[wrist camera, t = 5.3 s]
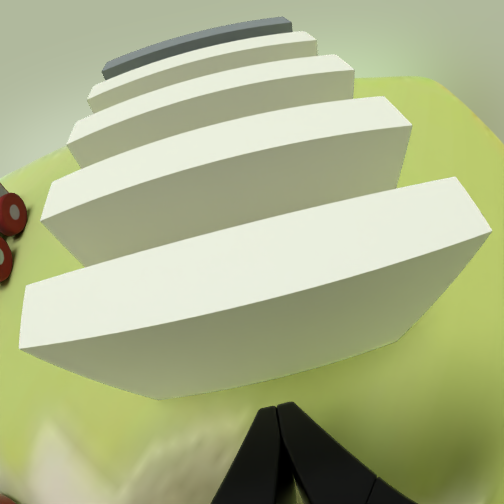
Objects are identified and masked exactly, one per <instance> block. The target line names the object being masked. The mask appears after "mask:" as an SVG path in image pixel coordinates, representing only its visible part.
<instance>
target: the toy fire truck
mask: <svg viewBox="0 0 504 504" xmlns="http://www.w3.org/2000/svg"><path fill="white" fill-rule="evenodd" d="M26 221H27V210H26V207H25V204H24V202H23V200H22V199H21V198H20V197H19V196H18V195H17V194H15V193H9V192H8V191H7V190H6V189H5V188H4V187H3V185H2V184H1V183H0V232H1V233H2V234H4V235H6V236H12V235H15V234H18V233H20V232H21V231H22V230H23V229H24V227H25V225H26ZM12 262H13V260H12V254H11V250H10V248H9V246H8V244H7V243H6V241H5V240H4V239H3V238H1V237H0V282H1V281H4V280H5V279H7V278H8V276H9V275H10V273H11V270H12Z"/></svg>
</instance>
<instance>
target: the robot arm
mask: <svg viewBox="0 0 504 504" xmlns="http://www.w3.org/2000/svg"><path fill="white" fill-rule="evenodd" d="M294 479H295V481H294ZM295 482H296V485H297V488H298V491H299V493H300V495H301V498H302V500H303V503H304V504H418V503H416V502H414V501H413V500H411V499H409V498H408V497H406V496H405V495H403V494H402V493H400V492H399V491H397V490H396V489H395V488H393V487H392V486H390V485H389V484H388V483H387V482H385V481H384V480H383V479H382V478H380V477H377V475H376V474H375V473H374V472H373V471H371V470H370V469H369V468H368V467H366V466H365V465H364V464H363V463H362V462H360V461H359V460H358V459H357V458H356V457H354V456H353V455H352V454H351V453H350V452H349V451H347V450H346V449H345V448H344V447H343V446H342V445H340V444H339V443H338V442H337V441H336V440H335V439H334V438H332V437H331V436H330V435H329V434H328V433H327V432H326V431H325V430H323V429H322V428H321V427H320V426H319V425H318V424H317V423H316V422H315V421H313V420H312V419H311V418H310V417H309V416H308V415H307V414H306V413H305V412H304V411H303V410H302V409H301V408H299V407H298V406H297V405H296V404H295V403H294V402H287V403H283V404H279V405H277V408H276V407H275V406H270V407H266V408H261V409H259V410H258V412H257V415H256V417H255V419H254V421H253V423H252V425H251V427H250V429H249V431H248V433H247V435H246V437H245V439H244V441H243V443H242V445H241V447H240V449H239V451H238V453H237V455H236V457H235V459H234V461H233V463H232V465H231V467H230V469H229V471H228V473H227V474H226V476H225V478H224V480H223V482H222V484H221V486H220V488H219V489H218V491H217V493H216V495H215V497H214V498H213V500H212V502H211V504H296V490H295Z"/></svg>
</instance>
